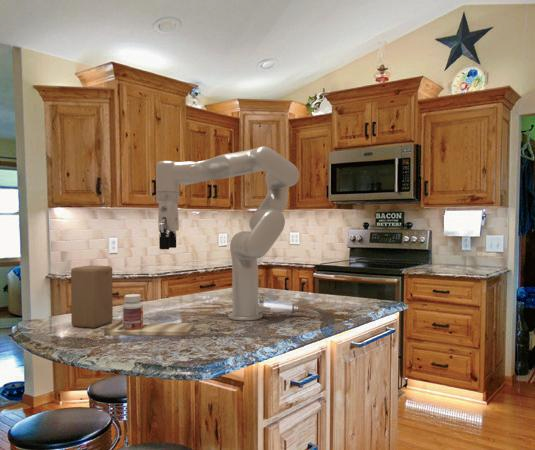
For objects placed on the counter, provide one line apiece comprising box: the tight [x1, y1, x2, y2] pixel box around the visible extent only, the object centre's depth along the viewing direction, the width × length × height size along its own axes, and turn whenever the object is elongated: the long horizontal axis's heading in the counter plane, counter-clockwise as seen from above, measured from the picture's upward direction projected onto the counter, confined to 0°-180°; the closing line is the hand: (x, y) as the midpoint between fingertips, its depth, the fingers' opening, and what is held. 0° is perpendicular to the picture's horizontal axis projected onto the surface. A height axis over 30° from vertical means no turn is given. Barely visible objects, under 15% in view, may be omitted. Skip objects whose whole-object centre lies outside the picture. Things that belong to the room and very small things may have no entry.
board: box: [103, 319, 196, 337], centre depth 148 cm, size 26×12×2 cm, turn 88°
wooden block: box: [70, 265, 114, 329], centre depth 158 cm, size 10×10×20 cm
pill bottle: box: [122, 293, 144, 330], centre depth 148 cm, size 6×6×11 cm
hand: (168, 248), depth 155 cm, fingers open, 9 cm apart
